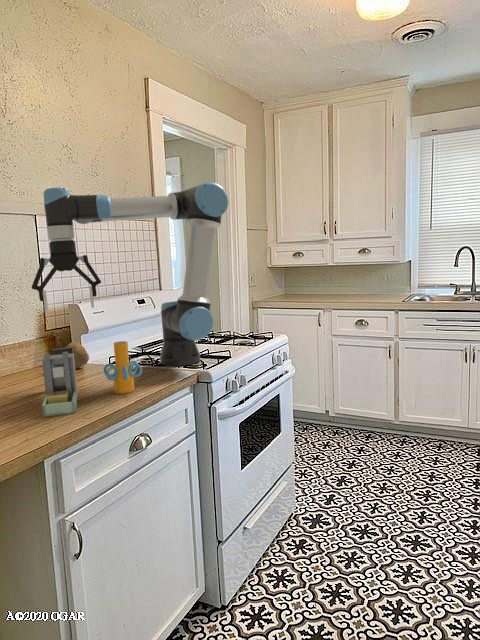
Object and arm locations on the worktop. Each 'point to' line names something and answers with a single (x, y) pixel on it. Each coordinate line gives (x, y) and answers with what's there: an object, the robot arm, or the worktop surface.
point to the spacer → (58, 397)
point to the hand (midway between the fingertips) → (70, 309)
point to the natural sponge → (79, 354)
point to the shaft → (59, 368)
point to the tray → (59, 407)
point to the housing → (60, 382)
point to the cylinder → (122, 369)
